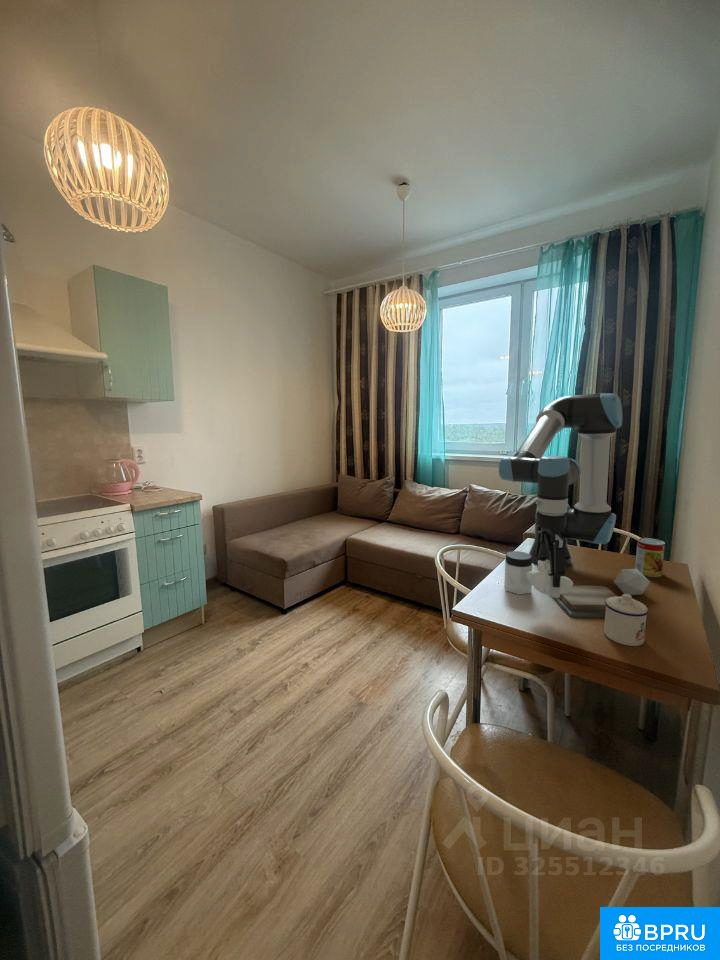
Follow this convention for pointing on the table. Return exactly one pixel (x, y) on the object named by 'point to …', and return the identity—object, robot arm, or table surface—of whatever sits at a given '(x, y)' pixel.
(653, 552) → the canned food
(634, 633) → the teacup with lid
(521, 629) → the table surface
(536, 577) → the bust
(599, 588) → the pedestal
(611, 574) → the table surface
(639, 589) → the die
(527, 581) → the jar
